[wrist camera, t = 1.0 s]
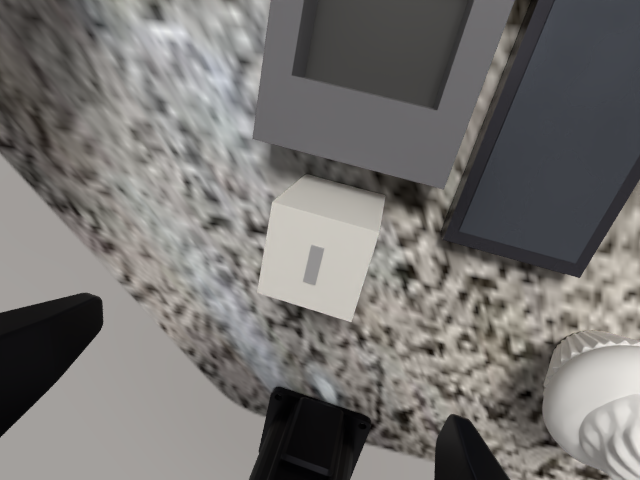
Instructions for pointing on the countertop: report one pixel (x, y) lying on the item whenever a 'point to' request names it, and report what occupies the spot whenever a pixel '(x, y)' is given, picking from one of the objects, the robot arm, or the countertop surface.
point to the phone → (556, 138)
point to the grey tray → (377, 80)
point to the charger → (320, 245)
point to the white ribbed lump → (596, 401)
